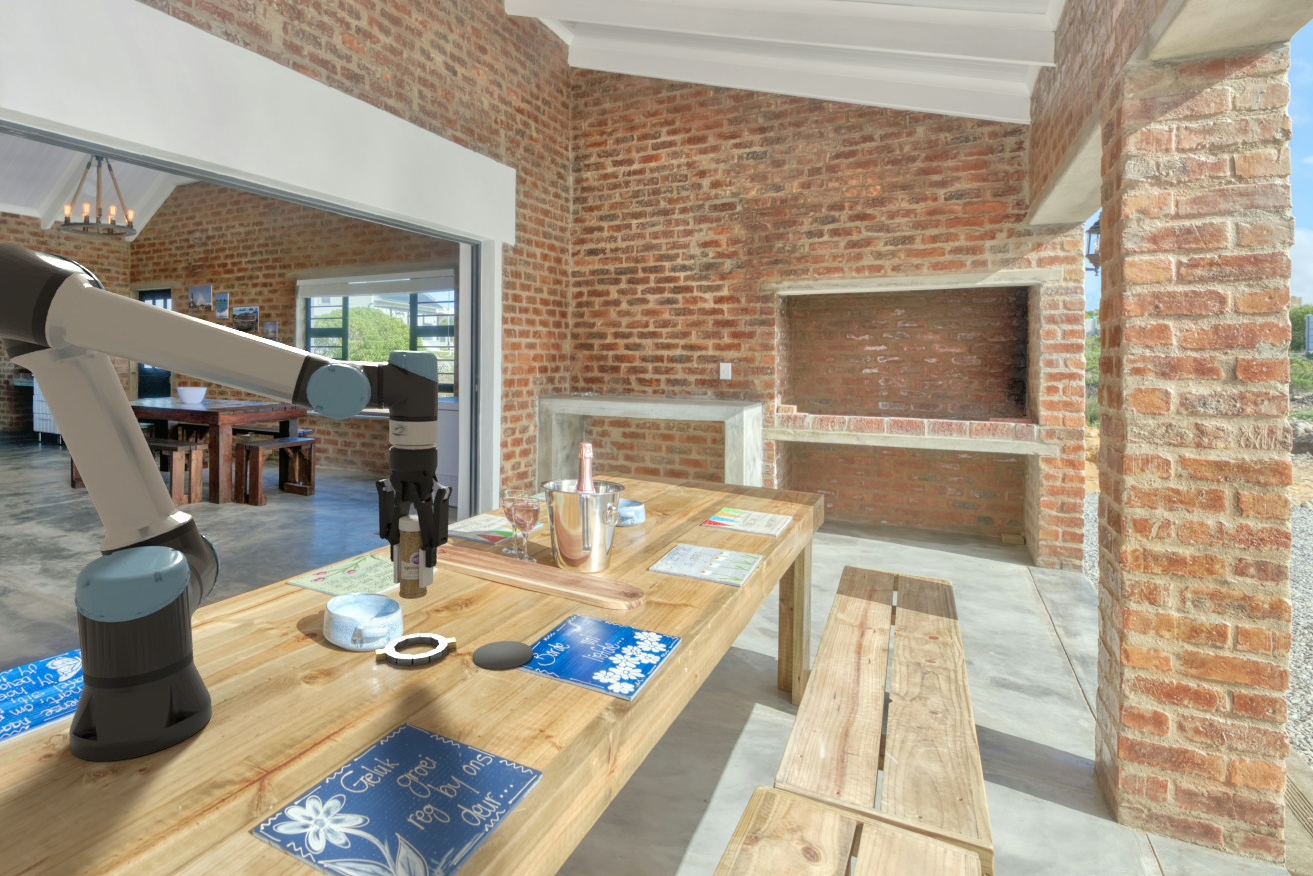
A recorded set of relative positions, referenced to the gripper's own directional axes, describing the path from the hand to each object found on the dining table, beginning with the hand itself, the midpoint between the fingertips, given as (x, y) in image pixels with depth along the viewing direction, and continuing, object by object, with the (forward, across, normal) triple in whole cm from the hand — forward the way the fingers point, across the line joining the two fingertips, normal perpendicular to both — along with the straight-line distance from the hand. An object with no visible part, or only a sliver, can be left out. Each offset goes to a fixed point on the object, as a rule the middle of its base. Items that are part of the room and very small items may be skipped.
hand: (413, 582), depth 115 cm
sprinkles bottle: (+2, 0, 0) cm, 2 cm away
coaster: (+12, +15, +5) cm, 19 cm away
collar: (+12, 0, 0) cm, 12 cm away
